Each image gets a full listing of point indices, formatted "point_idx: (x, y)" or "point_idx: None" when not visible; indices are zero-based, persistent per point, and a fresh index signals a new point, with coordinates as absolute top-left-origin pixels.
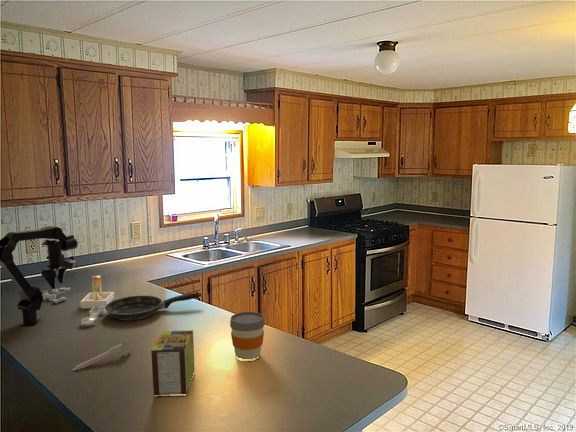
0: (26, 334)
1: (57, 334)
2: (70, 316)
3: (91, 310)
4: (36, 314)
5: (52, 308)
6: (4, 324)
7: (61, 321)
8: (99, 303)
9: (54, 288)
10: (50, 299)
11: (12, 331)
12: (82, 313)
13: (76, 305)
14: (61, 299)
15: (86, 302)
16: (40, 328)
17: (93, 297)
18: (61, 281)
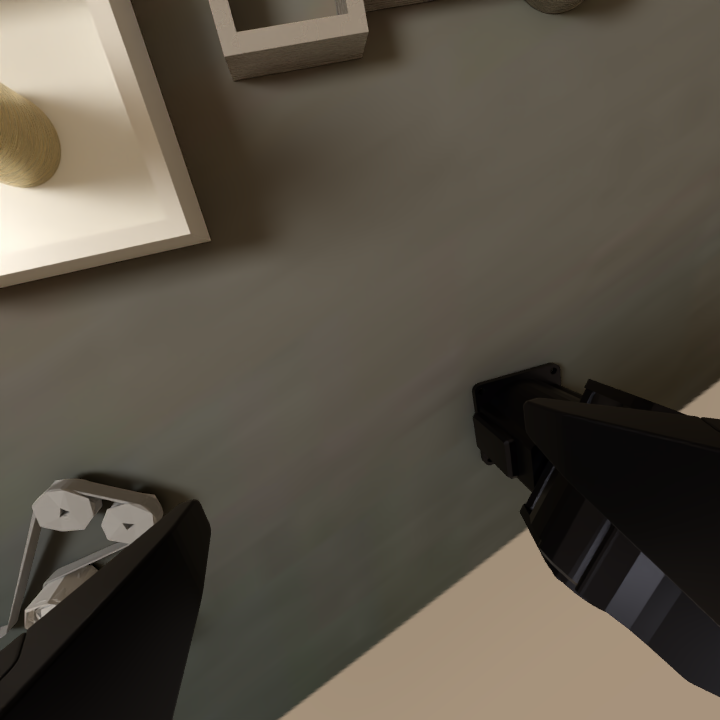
0: (675, 316)
1: (704, 115)
2: (394, 222)
3: (343, 15)
4: (550, 396)
5: (254, 460)
6: None
7: (491, 231)
8: (124, 22)
9: (542, 402)
10: None
11: None
12: (320, 157)
13: (145, 327)
14: (101, 497)
15: (172, 170)
16: (599, 295)
17: (8, 153)
18: (189, 532)
